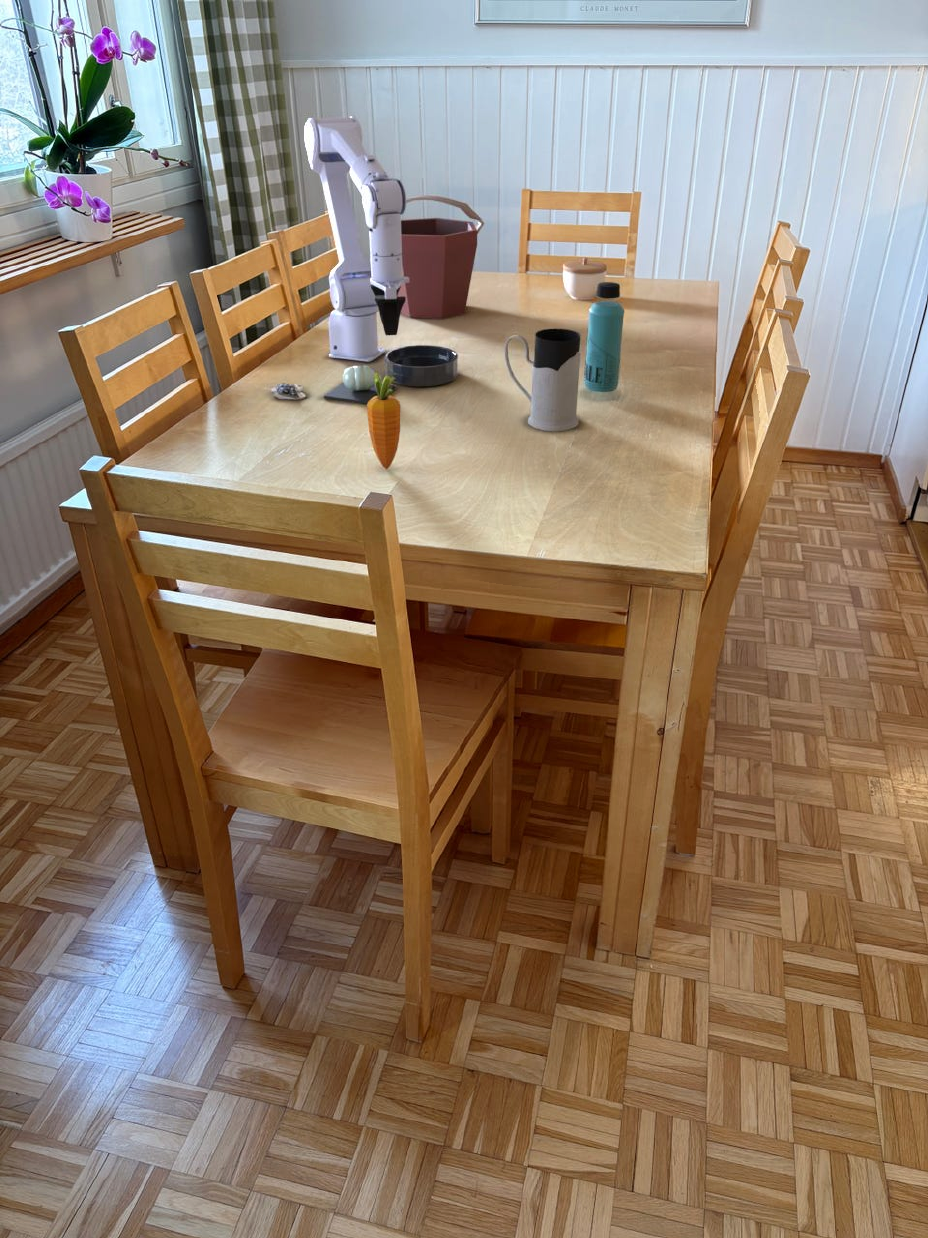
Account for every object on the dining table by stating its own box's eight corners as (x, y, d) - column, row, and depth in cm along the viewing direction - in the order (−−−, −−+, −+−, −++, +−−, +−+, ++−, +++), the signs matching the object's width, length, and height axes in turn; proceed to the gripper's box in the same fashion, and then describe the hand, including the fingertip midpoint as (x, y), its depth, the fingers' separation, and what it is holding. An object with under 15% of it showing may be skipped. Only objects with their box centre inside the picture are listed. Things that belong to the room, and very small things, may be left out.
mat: (323, 398, 172) (323, 395, 171) (348, 381, 180) (348, 379, 179) (373, 405, 169) (373, 402, 168) (395, 387, 177) (395, 385, 176)
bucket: (498, 306, 226) (500, 194, 212) (447, 328, 210) (446, 208, 197) (414, 293, 237) (411, 185, 223) (361, 313, 221) (354, 198, 208)
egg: (344, 393, 171) (342, 368, 170) (343, 388, 175) (341, 364, 174) (377, 391, 172) (376, 367, 170) (376, 387, 176) (374, 363, 174)
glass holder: (564, 434, 157) (569, 345, 149) (491, 418, 163) (492, 331, 155) (587, 418, 163) (593, 332, 155) (515, 403, 169) (518, 319, 161)
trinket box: (562, 291, 239) (564, 252, 234) (604, 292, 238) (607, 253, 233) (560, 301, 230) (562, 261, 225) (604, 303, 229) (607, 263, 224)
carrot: (370, 462, 147) (365, 368, 139) (402, 461, 147) (398, 367, 139) (370, 475, 143) (365, 379, 135) (403, 474, 143) (399, 378, 135)
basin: (374, 383, 179) (372, 362, 177) (403, 361, 190) (402, 342, 188) (442, 391, 175) (441, 370, 173) (468, 369, 186) (468, 349, 184)
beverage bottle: (620, 390, 175) (631, 280, 165) (613, 402, 170) (624, 288, 159) (586, 386, 177) (594, 277, 166) (578, 398, 172) (586, 285, 161)
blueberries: (292, 384, 178) (291, 374, 177) (317, 394, 173) (317, 384, 172) (262, 392, 174) (261, 382, 173) (287, 403, 169) (286, 393, 168)
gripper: (412, 261, 164) (414, 339, 171) (404, 244, 176) (406, 317, 183) (372, 262, 163) (375, 340, 170) (366, 245, 175) (370, 318, 182)
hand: (389, 328), depth 177 cm, fingers open, 7 cm apart
